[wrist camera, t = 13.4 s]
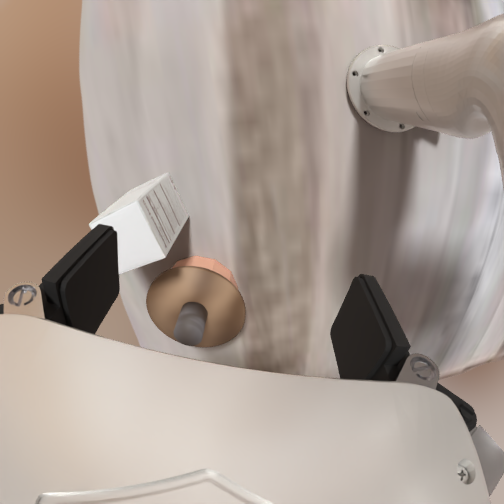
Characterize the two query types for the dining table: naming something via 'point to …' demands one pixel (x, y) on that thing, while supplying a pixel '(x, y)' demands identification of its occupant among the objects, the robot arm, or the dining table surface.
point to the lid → (196, 306)
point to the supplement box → (145, 222)
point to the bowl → (207, 266)
